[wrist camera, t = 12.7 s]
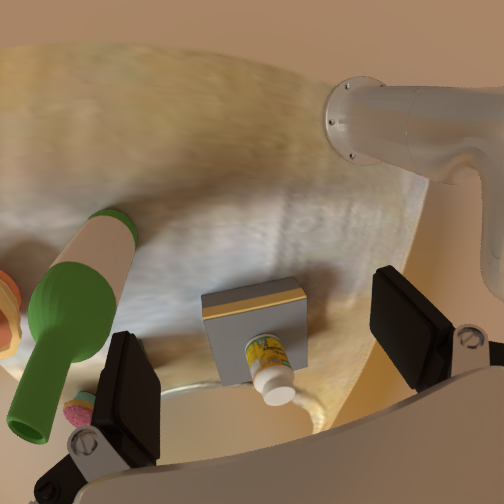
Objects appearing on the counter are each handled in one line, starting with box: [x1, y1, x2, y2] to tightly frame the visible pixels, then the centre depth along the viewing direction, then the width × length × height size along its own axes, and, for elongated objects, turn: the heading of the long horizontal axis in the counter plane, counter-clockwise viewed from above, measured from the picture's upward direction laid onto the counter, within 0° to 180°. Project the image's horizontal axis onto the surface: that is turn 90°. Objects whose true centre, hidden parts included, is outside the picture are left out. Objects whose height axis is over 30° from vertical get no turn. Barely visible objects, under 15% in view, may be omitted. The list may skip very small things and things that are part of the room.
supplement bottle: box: [245, 334, 295, 406], centre depth 39 cm, size 5×5×10 cm
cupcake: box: [63, 392, 95, 428], centre depth 45 cm, size 9×8×12 cm
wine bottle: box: [7, 209, 137, 444], centre depth 25 cm, size 8×8×30 cm
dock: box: [201, 277, 308, 386], centre depth 46 cm, size 14×14×6 cm
